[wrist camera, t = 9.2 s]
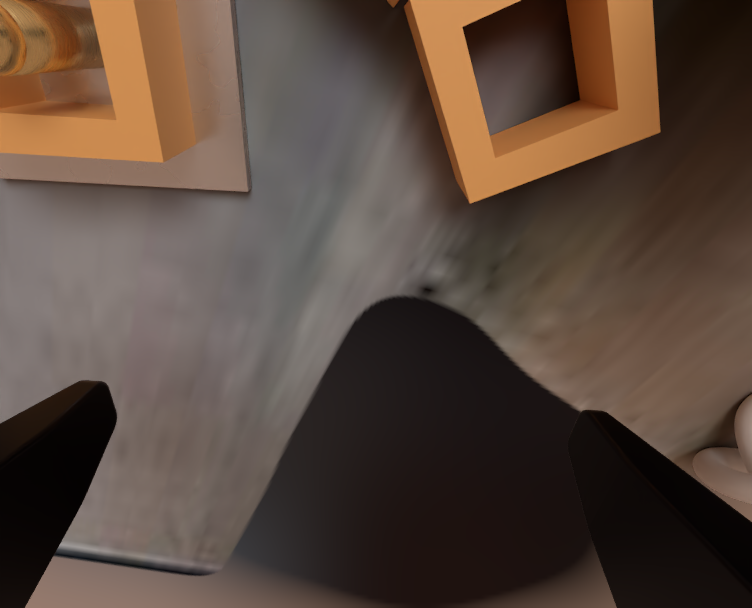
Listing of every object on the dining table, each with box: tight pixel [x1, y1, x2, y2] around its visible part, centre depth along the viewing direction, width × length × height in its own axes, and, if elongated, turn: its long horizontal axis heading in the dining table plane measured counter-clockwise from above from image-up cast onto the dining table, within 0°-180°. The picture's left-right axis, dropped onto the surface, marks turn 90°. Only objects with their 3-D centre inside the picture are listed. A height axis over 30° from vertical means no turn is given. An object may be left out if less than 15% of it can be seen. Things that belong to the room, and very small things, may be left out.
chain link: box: [404, 0, 660, 204], centre depth 15 cm, size 6×6×3 cm
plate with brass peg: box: [0, 0, 252, 192], centre depth 13 cm, size 10×10×6 cm
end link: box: [0, 0, 196, 163], centre depth 14 cm, size 6×6×3 cm
